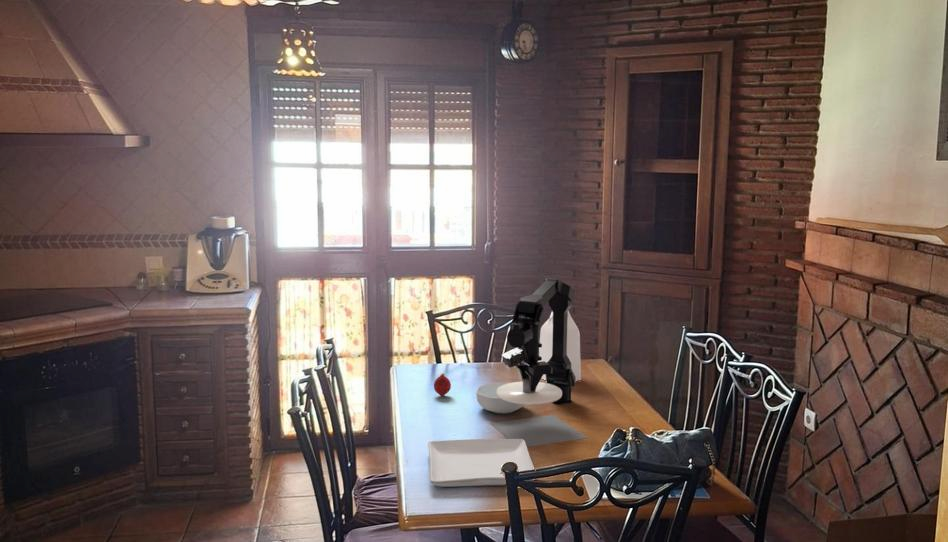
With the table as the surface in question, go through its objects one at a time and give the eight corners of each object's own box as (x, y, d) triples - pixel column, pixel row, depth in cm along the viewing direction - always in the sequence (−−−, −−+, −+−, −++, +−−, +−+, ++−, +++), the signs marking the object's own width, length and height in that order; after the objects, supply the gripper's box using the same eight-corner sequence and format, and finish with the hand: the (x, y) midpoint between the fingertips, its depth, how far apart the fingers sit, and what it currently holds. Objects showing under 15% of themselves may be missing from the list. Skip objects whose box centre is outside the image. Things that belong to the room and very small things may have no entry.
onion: (448, 399, 277) (448, 376, 276) (432, 398, 279) (431, 375, 277) (452, 394, 283) (452, 371, 282) (436, 393, 284) (436, 370, 283)
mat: (553, 415, 261) (553, 414, 261) (587, 439, 241) (587, 437, 241) (489, 424, 253) (489, 423, 253) (520, 449, 233) (520, 447, 233)
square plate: (427, 452, 231) (427, 439, 231) (524, 450, 233) (524, 437, 233) (429, 493, 204) (429, 478, 204) (538, 490, 206) (538, 476, 206)
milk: (565, 373, 310) (566, 305, 305) (580, 381, 299) (582, 311, 295) (536, 376, 305) (538, 308, 301) (552, 385, 294) (553, 314, 290)
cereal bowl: (495, 399, 278) (495, 379, 277) (537, 408, 268) (537, 387, 267) (465, 412, 264) (465, 391, 263) (508, 422, 255) (509, 401, 254)
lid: (542, 380, 263) (543, 367, 263) (574, 399, 245) (574, 385, 244) (486, 388, 256) (486, 375, 255) (514, 408, 238) (514, 394, 237)
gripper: (492, 335, 253) (492, 384, 256) (519, 350, 236) (519, 402, 239) (525, 331, 257) (524, 379, 260) (553, 346, 240) (552, 397, 243)
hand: (529, 389), depth 250 cm, fingers closed on lid, 4 cm apart
